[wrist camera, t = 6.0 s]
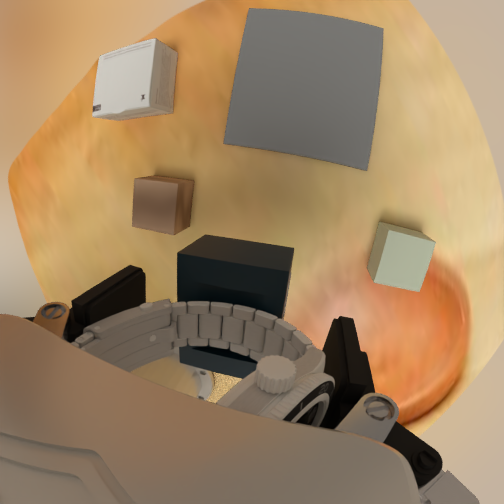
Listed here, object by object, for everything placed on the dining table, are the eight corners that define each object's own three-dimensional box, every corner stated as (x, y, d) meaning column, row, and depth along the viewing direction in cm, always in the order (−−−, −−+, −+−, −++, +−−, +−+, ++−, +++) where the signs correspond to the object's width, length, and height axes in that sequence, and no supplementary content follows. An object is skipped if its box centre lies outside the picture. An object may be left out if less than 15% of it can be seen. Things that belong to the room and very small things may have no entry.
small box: (179, 51, 24) (157, 36, 20) (174, 114, 27) (149, 107, 22) (124, 64, 26) (98, 54, 21) (118, 122, 28) (90, 119, 23)
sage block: (407, 276, 27) (419, 291, 23) (366, 267, 28) (373, 282, 24) (421, 232, 25) (435, 242, 21) (378, 220, 26) (388, 230, 22)
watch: (313, 351, 14) (293, 554, 4) (173, 323, 16) (52, 466, 5) (336, 252, 13) (382, 492, 2) (173, 227, 14) (-25, 337, 4)
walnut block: (190, 226, 30) (173, 235, 27) (151, 218, 31) (132, 226, 27) (194, 180, 29) (177, 183, 25) (154, 175, 29) (134, 178, 26)
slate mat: (365, 170, 25) (366, 170, 24) (225, 144, 27) (223, 143, 26) (382, 30, 19) (383, 28, 19) (250, 10, 21) (249, 8, 21)
